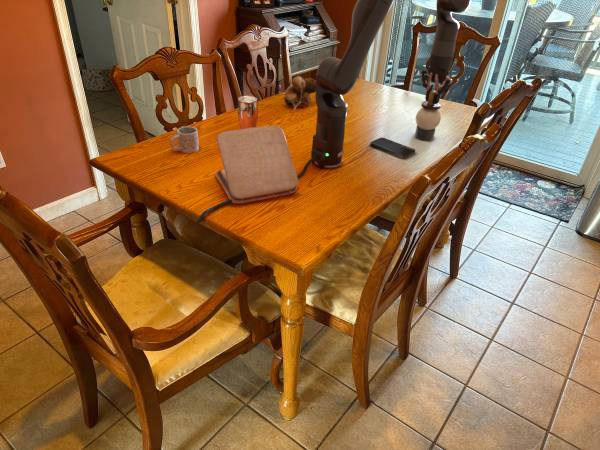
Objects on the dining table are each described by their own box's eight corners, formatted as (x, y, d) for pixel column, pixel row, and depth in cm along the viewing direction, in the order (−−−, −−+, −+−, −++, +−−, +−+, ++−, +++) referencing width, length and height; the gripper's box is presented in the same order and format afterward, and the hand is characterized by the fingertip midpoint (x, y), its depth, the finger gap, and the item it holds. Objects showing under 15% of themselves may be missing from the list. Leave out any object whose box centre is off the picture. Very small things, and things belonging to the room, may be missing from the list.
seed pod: (329, 91, 190) (308, 72, 196) (303, 90, 179) (281, 69, 185) (316, 117, 198) (295, 98, 204) (290, 118, 187) (269, 97, 193)
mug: (191, 143, 157) (190, 125, 153) (202, 149, 153) (201, 131, 149) (166, 150, 151) (164, 132, 147) (177, 157, 147) (175, 138, 143)
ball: (425, 136, 165) (431, 112, 160) (408, 127, 171) (413, 104, 166) (442, 132, 169) (448, 108, 164) (425, 123, 175) (430, 101, 170)
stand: (424, 142, 167) (426, 132, 165) (410, 135, 172) (412, 125, 170) (437, 138, 171) (439, 128, 168) (423, 132, 175) (426, 122, 173)
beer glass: (262, 140, 162) (262, 99, 153) (247, 145, 157) (246, 103, 149) (249, 134, 165) (248, 94, 157) (234, 139, 161) (233, 98, 153)
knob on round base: (430, 111, 161) (434, 95, 158) (417, 105, 165) (420, 89, 162) (444, 108, 164) (447, 93, 161) (430, 102, 169) (433, 87, 165)
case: (232, 208, 123) (230, 154, 114) (213, 173, 139) (209, 124, 130) (300, 195, 131) (303, 144, 122) (274, 164, 146) (275, 117, 137)
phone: (381, 137, 166) (416, 150, 158) (381, 139, 167) (416, 152, 159) (369, 142, 161) (404, 156, 153) (368, 145, 162) (404, 159, 154)
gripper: (419, 49, 157) (410, 97, 167) (450, 59, 147) (438, 110, 157) (434, 47, 161) (424, 95, 170) (465, 56, 151) (453, 106, 161)
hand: (431, 102), depth 164 cm, fingers closed on knob on round base, 2 cm apart
